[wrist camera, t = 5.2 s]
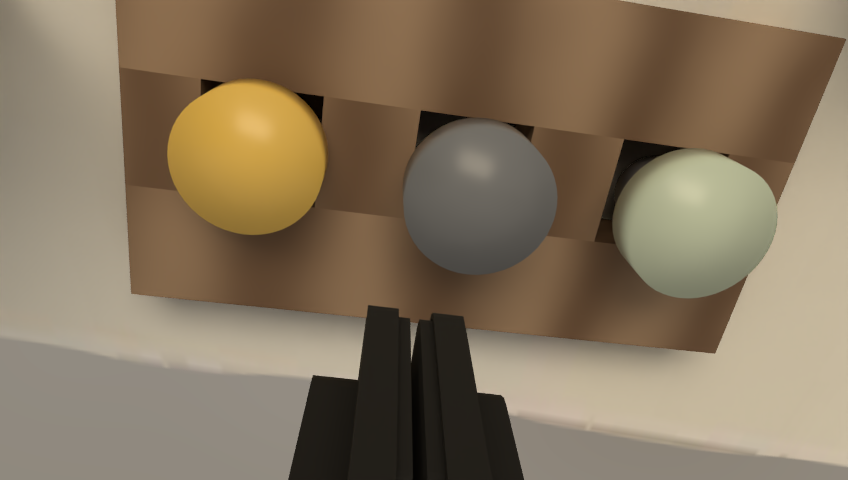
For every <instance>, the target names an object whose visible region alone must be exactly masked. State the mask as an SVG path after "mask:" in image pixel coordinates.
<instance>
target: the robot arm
mask: <svg viewBox="0 0 848 480" xmlns="http://www.w3.org/2000/svg"><path fill="white" fill-rule="evenodd" d="M288 480H524V478H523V473H522V469H521V465H520V461H519V457H518V452H517V448H516V444H515V440H514V436H513V432H512V428H511V423H510V419H509V415H508V411H507V407H506V403H505V400H504V398H503V397H502V396H501V395H494V394H485V393H477V389H476V384H475V378H474V372H473V367H472V361H471V355H470V350H469V344H468V338H467V333H466V327H465V321H464V317H463V316H457V315H449V314H441V313H432V314H431V317H430V320H422V319H419V322H418V326H417V332H416V337H415V343H414V349H413V354H412V360H411V337H410V318H404V317H399V309H398V308H390V307H381V306H373V305H368V309H367V317H366V324H365V332H364V339H363V347H362V354H361V362H360V369H359V377H358V380H353V379H344V378H334V377H325V376H315V375H313V377H312V381H311V385H310V389H309V393H308V397H307V402H306V406H305V411H304V415H303V419H302V423H301V428H300V432H299V436H298V441H297V445H296V449H295V453H294V458H293V462H292V466H291V471H290V475H289V479H288Z"/></svg>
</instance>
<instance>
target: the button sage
mask: <svg viewBox="0 0 848 480" xmlns="http://www.w3.org/2000/svg"><path fill="white" fill-rule="evenodd" d="M614 199H615V203H616V205H615V209H614V213H613V221H612V228H613V236H614V240H615V243H616V246H617V248H618V249H619V251H620V253H621V254H622V256H623V257H624V258H625V259H626V261H627V262H628V263H629V264H630V265H631V267H632V268H633V269H634V270H635V271H636V272H637V274H638V275H639V276H640V277H641V278H642V280H643V281H644V282H645V283H646V284H648V285H649V286H650V287H651V288H653V289H654V290H656V291H658V292H660V293H662V294H665V295H668V296H671V297H677V298H699V297H705V296H709V295H713V294H716V293H718V292H721V291H723V290H725V289H727V288H729V287H731V286H733V285H735V284H736V283H738V282H739V281H741V280H742V279H743V278H744V277H746V276H747V275H748V274H749V273H750V272H751V271H752V270H753V269H754V268H755V267H756V266H757V265H758V264H759V262H760V261H761V260H762V259H763V257H764V256H765V254H766V252H767V251H768V249H769V247H770V245H771V243H772V240H773V237H774V235H775V231H776V226H777V205H776V201H775V198H774V195H773V193H772V191H771V189H770V187H769V186H768V184H767V183H766V182H765V181H764V179H763V178H762V177H760V176H759V175H758V174H757V173H755V172H754V171H752V170H750V169H749V168H747V167H745V166H743V165H741V164H739V163H737V162H735V161H733V160H731V159H730V158H728V157H726V156H724V155H722V154H720V153H717V152H715V151H712V150H707V149H701V148H686V149H680V150H675V151H672V152H669V153H666V154H664V155H661V156H648V157H644V158H641V159H639V160H637V161H635V162H633V163H632V164H631V165H629V166H628V167H627V168H626V169H625V170H624V171H623V173H622V174H621V175H620V177H619V179H618V181H617V183H616V186H615V192H614Z"/></svg>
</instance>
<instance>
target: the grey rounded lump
mask: <svg viewBox="0 0 848 480" xmlns="http://www.w3.org/2000/svg"><path fill="white" fill-rule="evenodd" d="M402 189H403V206H404V217H405V222H406V226H407V229H408V232H409V234H410V236H411V238H412V240H413V242H414V243H415V244H416V246H417V247H418V249H419V250H420V251H421V252H422V253H423V254H424V255H425V256H426V257H427V258H429V259H430V260H431V261H432V262H434V263H436V264H437V265H439V266H441V267H443V268H445V269H447V270H450V271H454V272H457V273H462V274H470V275H482V274H490V273H496V272H499V271H502V270H505V269H507V268H510V267H512V266H514V265H516V264H518V263H519V262H521V261H523V260H524V259H525V258H527V257H528V256H529V255H530V254H532V253H533V252H534V251H535V250H536V249H537V248H538V246H539V245H540V244H541V243H542V242H543V240H544V239H545V237H546V236H547V234H548V232H549V230H550V228H551V226H552V224H553V221H554V218H555V214H556V209H557V187H556V182H555V178H554V175H553V173H552V170H551V168H550V166H549V165H548V163H547V161H546V160H545V159H544V157H543V156H542V155H541V153H540V152H539V151H538V150H537V149H536V148H535V146H534V145H533V144H532V143H531V142H530V141H529V140H528V139H527V138H526V137H525V136H524V135H523V134H522V133H521V132H520V131H518V130H517V129H515V128H514V127H512V126H510V125H508V124H506V123H504V122H501V121H498V120H494V119H489V118H479V117H477V118H465V119H460V120H456V121H453V122H450V123H448V124H446V125H444V126H441V127H440V128H438V129H437V130H435V131H433V132H432V133H431V134H430V135H428V136H427V137H426V138H425V139H424V140H423V141H422V142H421V143H420V144H419V145H418V147H417V148H416V149H415V151H414V152H413V154H412V156H411V158H410V159H409V161H408V164H407V167H406V169H405V173H404V178H403V188H402Z"/></svg>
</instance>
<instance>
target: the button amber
mask: <svg viewBox="0 0 848 480" xmlns="http://www.w3.org/2000/svg"><path fill="white" fill-rule="evenodd" d="M167 157H168V166H169V170H170V174H171V177H172V180H173V182H174V185H175V187H176V188H177V190H178V192H179V194H180V195H181V197H182V198H183V200H184V201H185V202H186V203H187V204H188V206H189V207H190V208H191V209H192V210H193V211H194V212H196V213H197V214H198V215H199V216H200V217H202V218H203V219H205V220H206V221H208V222H209V223H211V224H213V225H215V226H217V227H219V228H222V229H224V230H227V231H230V232H234V233H239V234H246V235H261V234H268V233H273V232H276V231H279V230H282V229H284V228H286V227H288V226H290V225H292V224H293V223H295V222H296V221H298V220H299V219H300V218H301V217H303V216H304V215H305V214H306V212H307V211H308V210H309V209H310V208H311V206H312V205H313V203H314V202H315V200H316V198H317V196H318V193H319V191H320V188H321V185H322V182H323V179H324V176H325V173H326V169H327V164H328V145H327V139H326V135H325V132H324V130H323V127H322V125H321V123H320V121H319V119H318V117H317V116H316V114H315V113H314V111H313V110H312V109H311V107H310V106H309V105H308V104H307V103H306V102H305V101H304V100H303V99H301V98H300V97H299V96H298V95H297V94H295V93H294V92H292V91H291V90H289V89H287V88H285V87H283V86H281V85H279V84H276V83H273V82H270V81H266V80H261V79H238V80H233V81H229V82H226V83H223V84H221V85H219V86H217V87H215V88H213V89H212V90H210V91H208V92H207V93H205V94H203V95H202V96H200V97H198V98H197V99H196V100H194V101H193V102H191V103H190V104H189V105H188V106H187V107H186V108H185V109H184V110H183V111H182V112H181V114H180V115H179V116H178V118H177V120H176V121H175V123H174V125H173V127H172V130H171V133H170V136H169V141H168V150H167Z"/></svg>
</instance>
